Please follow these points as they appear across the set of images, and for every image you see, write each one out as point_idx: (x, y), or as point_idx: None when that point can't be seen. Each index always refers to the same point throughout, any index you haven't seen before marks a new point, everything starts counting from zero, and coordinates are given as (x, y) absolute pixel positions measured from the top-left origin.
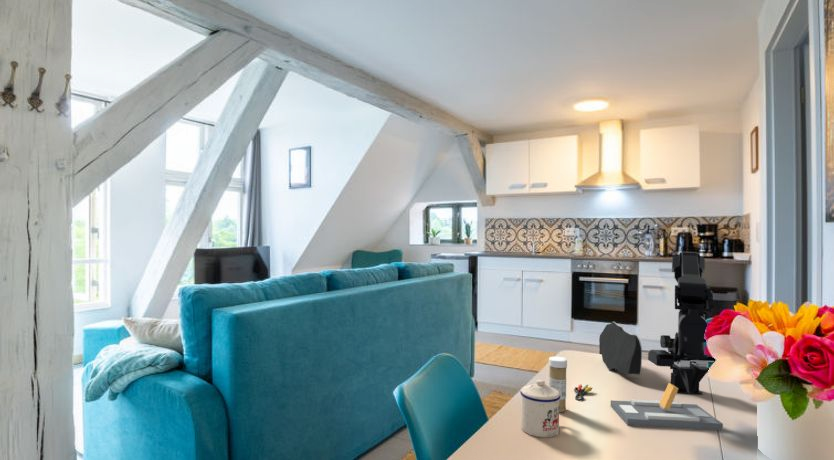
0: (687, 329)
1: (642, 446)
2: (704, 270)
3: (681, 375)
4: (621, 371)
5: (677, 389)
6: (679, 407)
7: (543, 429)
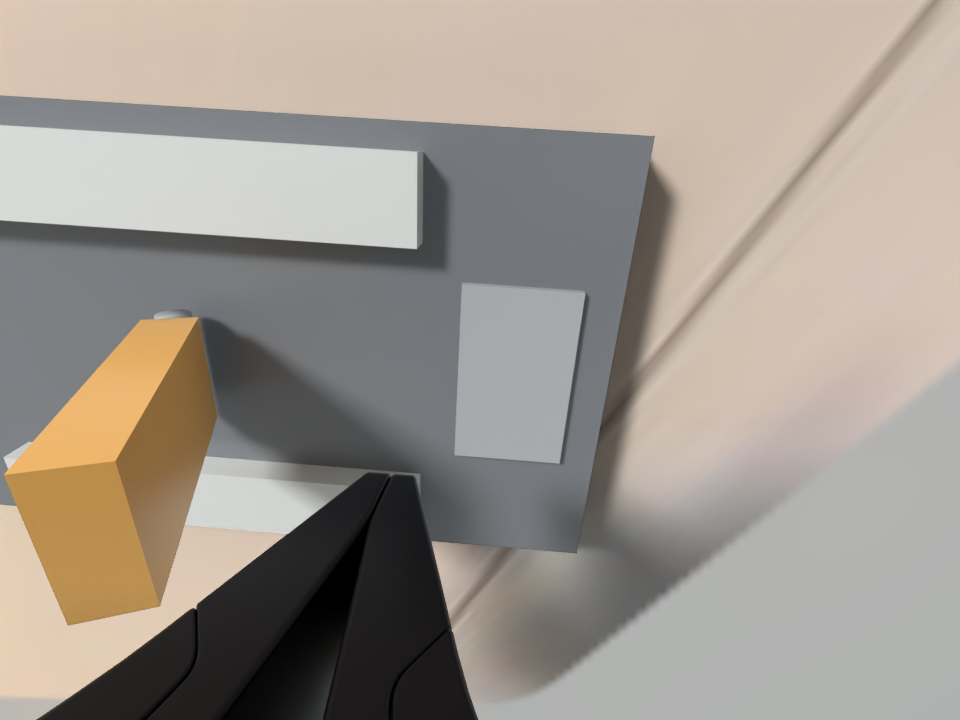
0: None
1: (35, 660)
2: None
3: (110, 681)
4: None
5: (155, 591)
6: (398, 248)
7: None
